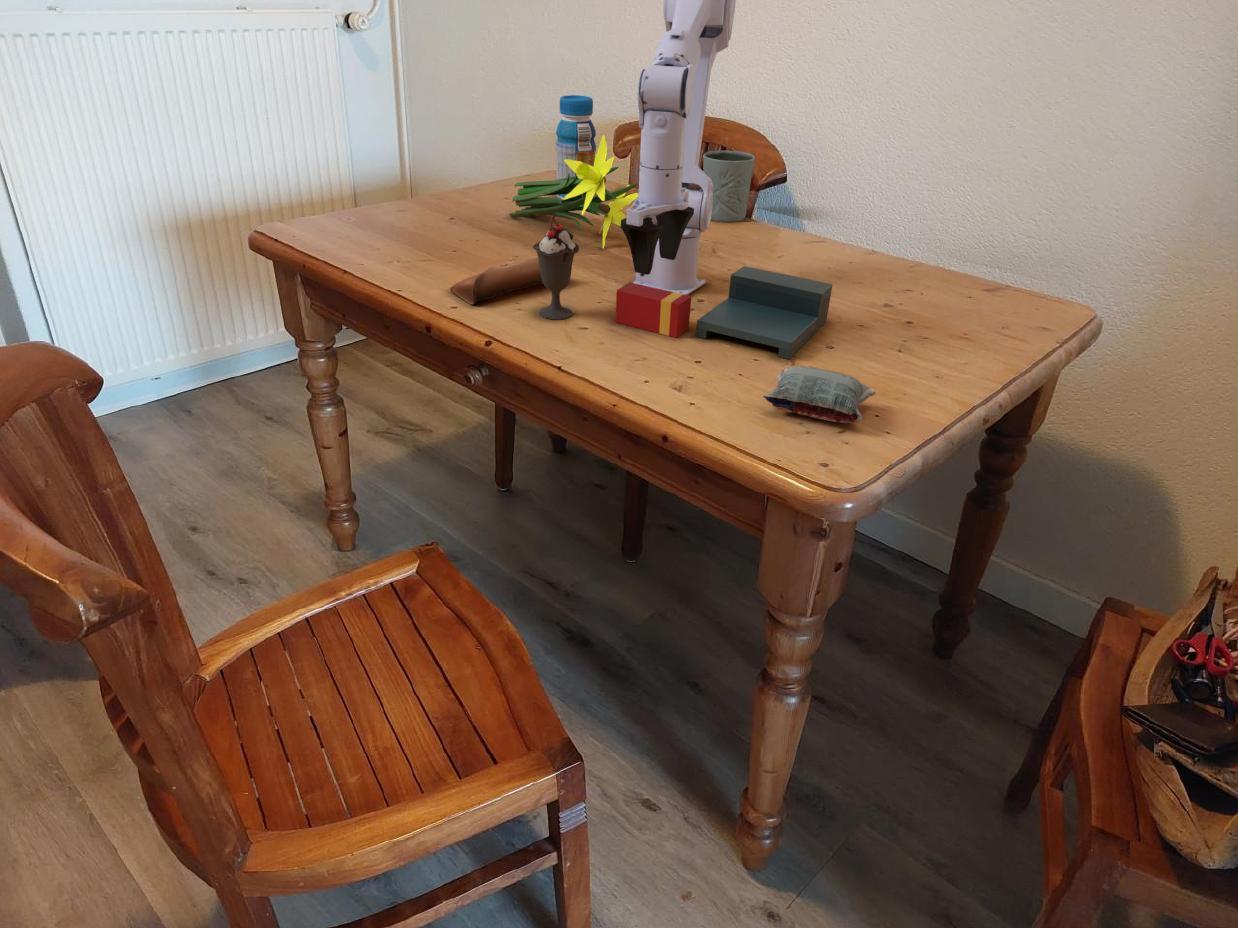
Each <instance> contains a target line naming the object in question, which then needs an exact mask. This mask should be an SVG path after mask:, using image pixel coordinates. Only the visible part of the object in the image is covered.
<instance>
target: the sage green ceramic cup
mask: <svg viewBox="0 0 1238 928" xmlns="http://www.w3.org/2000/svg"><path fill="white" fill-rule="evenodd" d="M755 157H756V156H754V155H753V154H751V153H749V152H744V151H739V150H713V151H707V152H704V153H703V155H702V162H703V163H702V164H703V165H702V166H703V167H702V168H703V170H702V171H703V172H704V173H705V174H706V175H707V176H708V177H709V178H710V179H711V180H712V184H713V205H712V215H711V221H715V222H719V223H735V222H741V221H744V220H745V218H746V215H747V209H748V202H749V197H750V190H751V183H752V175H753V170H754V165H755V159H756V158H755Z"/></svg>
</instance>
